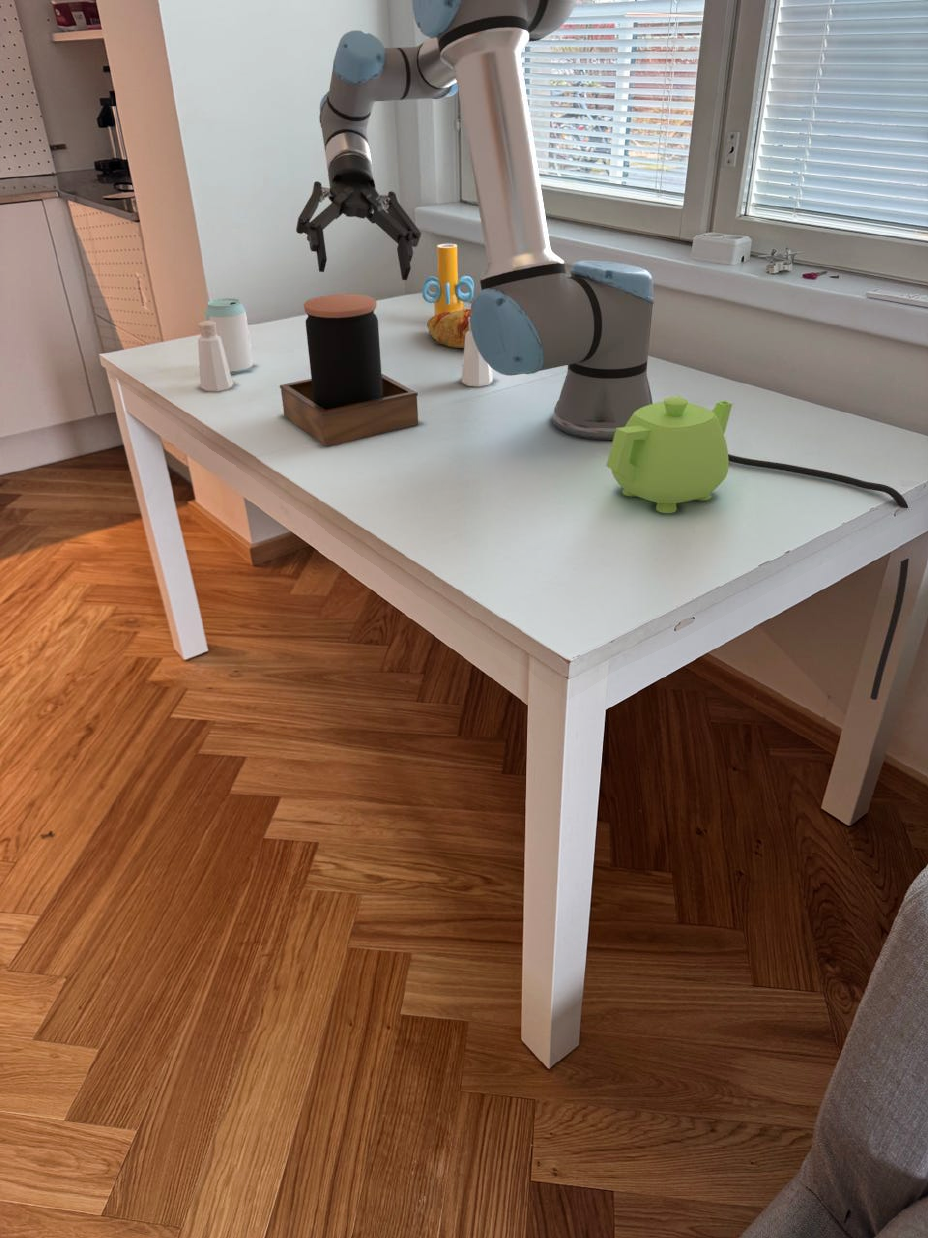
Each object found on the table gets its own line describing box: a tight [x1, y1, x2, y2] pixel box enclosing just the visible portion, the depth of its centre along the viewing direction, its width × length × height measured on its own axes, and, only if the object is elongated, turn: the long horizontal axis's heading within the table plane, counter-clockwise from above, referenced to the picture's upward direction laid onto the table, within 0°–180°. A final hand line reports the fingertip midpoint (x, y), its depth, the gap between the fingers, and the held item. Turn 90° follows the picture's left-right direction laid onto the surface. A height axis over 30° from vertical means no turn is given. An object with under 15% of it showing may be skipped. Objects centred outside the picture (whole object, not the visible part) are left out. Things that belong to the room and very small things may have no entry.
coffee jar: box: [303, 293, 383, 410], centre depth 142 cm, size 11×11×18 cm
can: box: [204, 297, 254, 375], centre depth 168 cm, size 7×7×12 cm
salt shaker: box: [197, 320, 234, 393], centre depth 159 cm, size 5×5×11 cm
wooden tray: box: [279, 372, 419, 447], centre depth 145 cm, size 16×16×5 cm
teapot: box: [605, 396, 733, 514], centre depth 118 cm, size 20×13×13 cm
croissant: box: [426, 307, 472, 349], centre depth 181 cm, size 21×10×8 cm, turn 40°
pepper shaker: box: [461, 317, 494, 388], centre depth 159 cm, size 5×5×11 cm
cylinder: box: [421, 243, 475, 316], centre depth 192 cm, size 12×10×15 cm
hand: (365, 270), depth 149 cm, fingers open, 13 cm apart
